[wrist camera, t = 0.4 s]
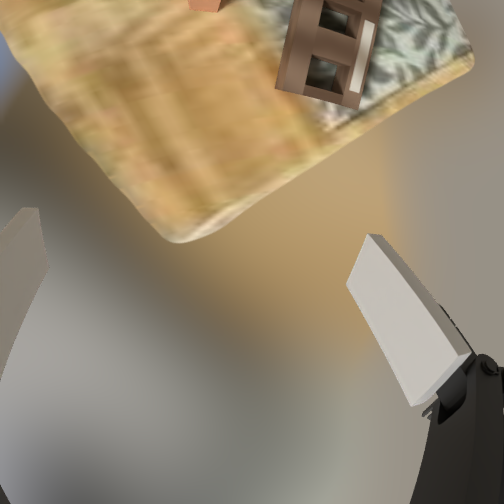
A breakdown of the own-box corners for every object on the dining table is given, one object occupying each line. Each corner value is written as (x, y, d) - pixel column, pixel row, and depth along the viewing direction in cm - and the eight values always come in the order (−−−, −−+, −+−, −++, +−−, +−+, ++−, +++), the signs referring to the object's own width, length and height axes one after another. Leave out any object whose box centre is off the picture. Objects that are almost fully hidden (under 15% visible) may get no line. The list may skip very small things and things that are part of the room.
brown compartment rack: (312, -79, 18) (323, -90, 15) (377, -53, 20) (392, -60, 17) (274, 88, 31) (283, 90, 28) (344, 105, 33) (358, 110, 30)
